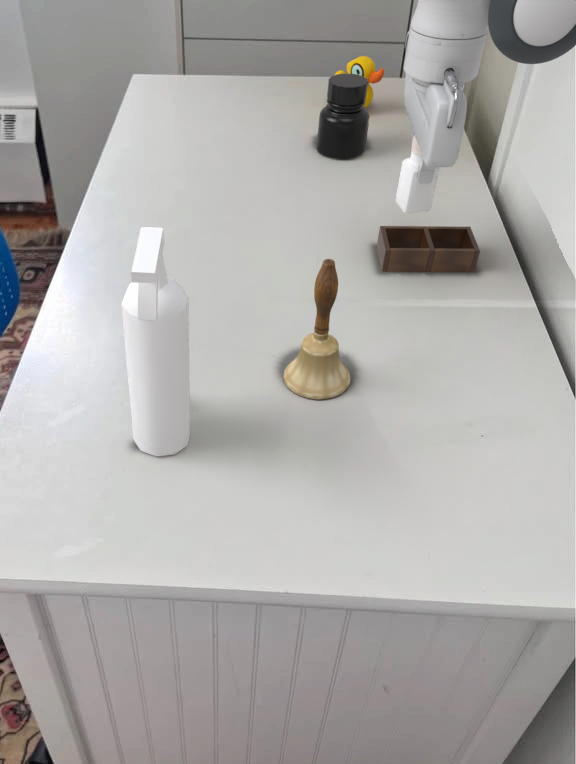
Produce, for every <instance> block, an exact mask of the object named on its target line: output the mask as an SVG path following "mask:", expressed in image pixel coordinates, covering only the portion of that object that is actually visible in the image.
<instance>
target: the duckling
mask: <svg viewBox="0 0 576 764" xmlns="http://www.w3.org/2000/svg"><path fill="white" fill-rule="evenodd" d="M346 72H347V73H346ZM346 72H345V70H338V71H336V72H335V73H334V75H336V74H343V73H344V74H358V75H360V76H364V77H365V78H366V79H368V86H367V94H366V100H365V104H364V107H365V108H366V109H367V107H368V106H370V105H371V104H372V102H373V99H374V90H373V87H372V85H371V84H377V83H379V82H381V80H382V79H383V78H384V75H385V69H384V68H383V67H381V68H380V69H379V70H378V71H376V64H375V62H374V60H373V59H372V58H371V57H369V56H366V55H360V56H358V57H356V58H354V59H353V60H350V61H349V62H348V63H347V65H346Z"/></svg>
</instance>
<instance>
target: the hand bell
mask: <svg viewBox="0 0 576 764" xmlns="http://www.w3.org/2000/svg"><path fill="white" fill-rule="evenodd" d="M338 292H339V278H338V273H337V269H336V262H335V260H334V259H332V258H326V259H323V261H322V264H321V266H320V268H319V271H318V273H317V275H316V277H315V281H314V289H313V295H314V302H315V303H314V304H315V308H316V315H315V323H314V326H313V327H314V329H313V330H314V331H313V332H312V333H309V334H307V335H306V336H304V338H303V339H302V340H301V343H300V348H299V351H298V354H297V356H296V358H295V359H293V360H292V361H291V362H289V363H288V364H287V366H286V367H285V369H284V371H283V375H282V378H283V382H284V385H285V386H286V387H287V388H288V389H289V390H290V391H291V392H293V394H295V395H298V396H300V397H302V398H306V399H310V400H327V399H332V398H335V397H337V396H340V395H342V394H343V393H344V392H346V391H347V389H348V388H349V387H350V384H351V372H350V371H349V369H348V367H347V366H346V365H345V364H344V363H343V362H341V358H340V345H339V344H340V343H339V341H338V339H337V338H336V337H335V336H333V335H332V334H330V333H329V331H330V317H331V312H332V309H333V306H334V304H335V302H336V300H337V296H338Z"/></svg>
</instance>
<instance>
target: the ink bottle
mask: <svg viewBox="0 0 576 764" xmlns="http://www.w3.org/2000/svg"><path fill="white" fill-rule="evenodd" d="M335 74H336V73H335ZM335 74H334V75H331V76H330V77H329V78H328V83H327V92H326V105H325V106H324V107H322V109H321V110H320V112H319V116H318V127H317V137H316V138H317V139H316V150H317V152H318V153H319V154H321V155H322V156H325V157H327V158H330V157H331V158H330V159H335V158H336V159H337V160H350V159H354V158H358V157H359V156H361V155H362V154H364V151H365V150H366V145H367V140H368V132H369V125H370V123H369V122H370V112H369V110H368V109H367V107H366V108H365V107H364V104H365V100H366V94H367V86H368V79H366V78H365V77H364V76H360V75H358V74H347V73H346V74H344V73H343V74H336V75H335Z"/></svg>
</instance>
